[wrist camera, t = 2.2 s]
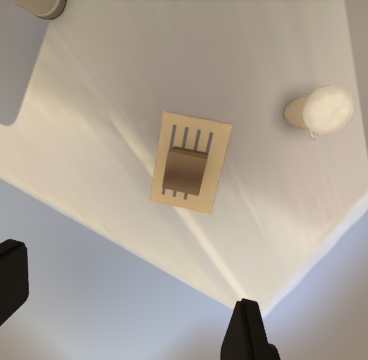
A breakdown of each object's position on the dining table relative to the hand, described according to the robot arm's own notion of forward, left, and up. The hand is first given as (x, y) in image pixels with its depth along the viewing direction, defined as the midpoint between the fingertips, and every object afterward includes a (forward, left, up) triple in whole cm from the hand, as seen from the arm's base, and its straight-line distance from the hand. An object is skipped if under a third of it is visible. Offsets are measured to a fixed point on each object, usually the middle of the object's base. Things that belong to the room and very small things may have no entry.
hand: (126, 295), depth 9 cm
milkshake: (-10, +13, -24) cm, 29 cm away
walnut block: (0, 0, -24) cm, 24 cm away
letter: (0, 0, -24) cm, 24 cm away
